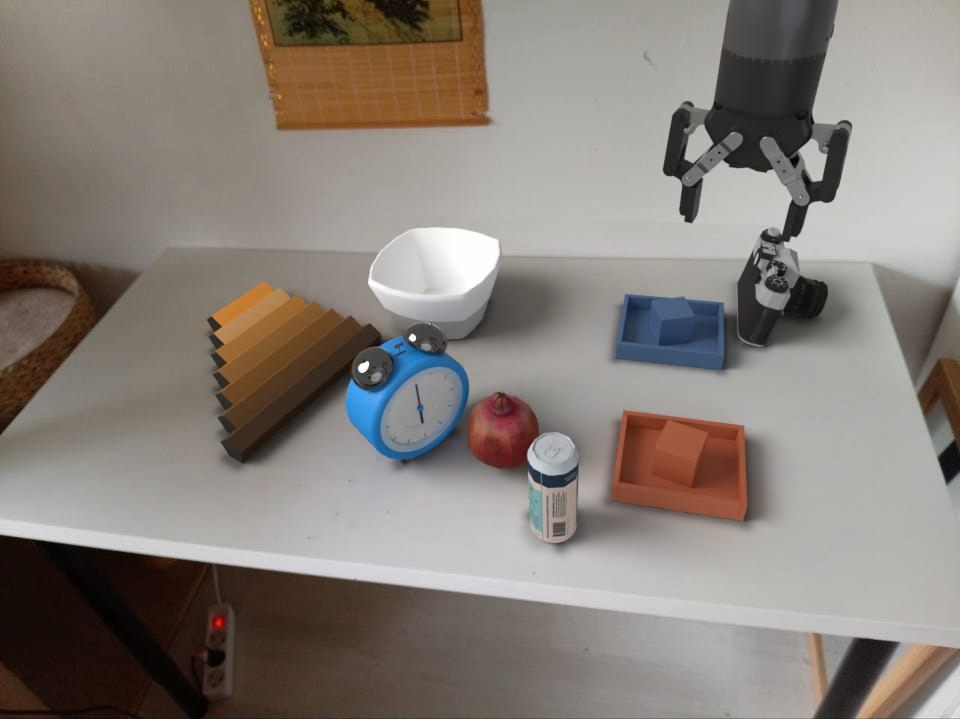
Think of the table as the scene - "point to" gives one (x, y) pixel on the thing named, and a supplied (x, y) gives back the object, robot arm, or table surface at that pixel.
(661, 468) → the terracotta block
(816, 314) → the camera
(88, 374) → the table surface
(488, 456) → the fruit
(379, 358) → the alarm clock
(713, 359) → the blue tray
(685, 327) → the blue block
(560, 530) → the beer can
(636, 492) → the terracotta tray
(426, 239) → the bowl
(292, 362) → the pan flute
